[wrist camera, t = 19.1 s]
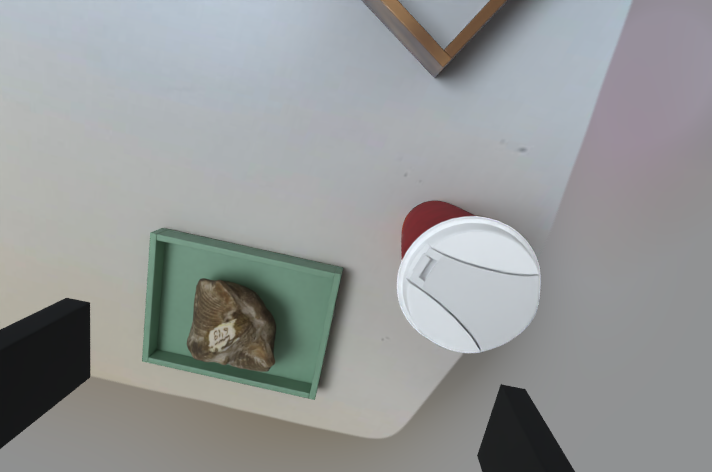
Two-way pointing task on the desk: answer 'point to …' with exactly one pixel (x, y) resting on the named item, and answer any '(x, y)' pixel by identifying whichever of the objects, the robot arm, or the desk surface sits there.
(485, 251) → the paper cup
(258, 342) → the fossilized seashell
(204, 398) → the desk surface
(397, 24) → the rectangular frame
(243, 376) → the tray
